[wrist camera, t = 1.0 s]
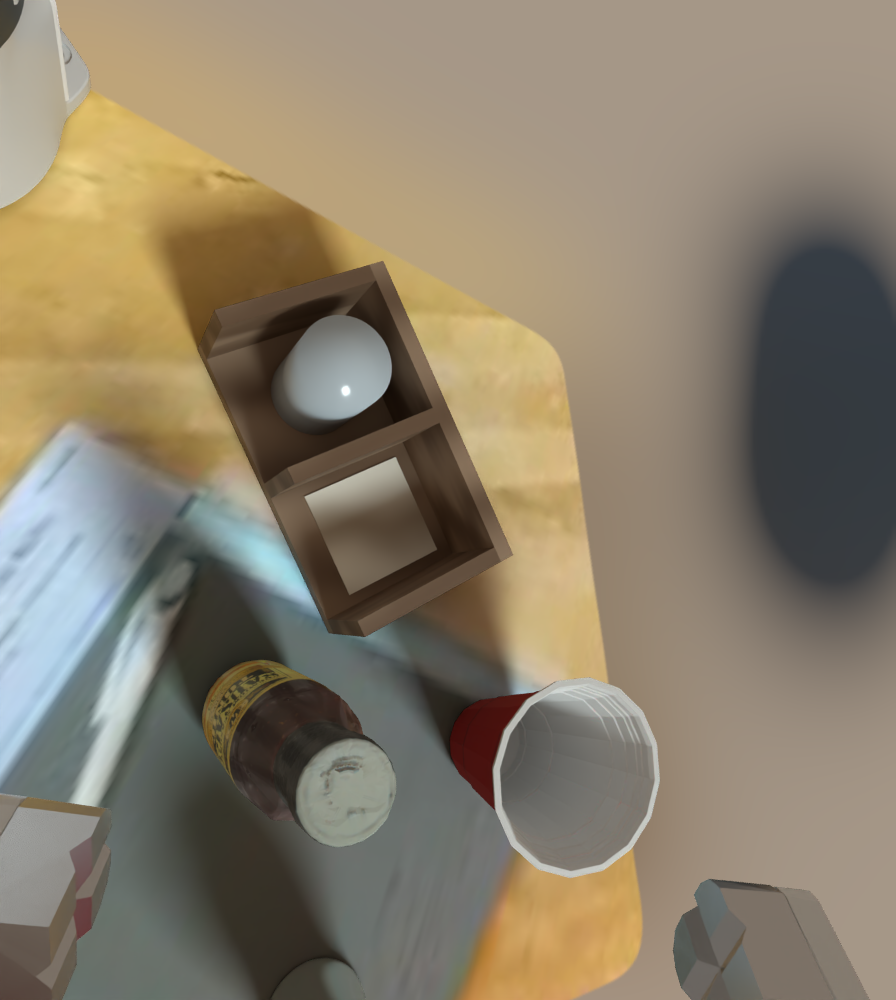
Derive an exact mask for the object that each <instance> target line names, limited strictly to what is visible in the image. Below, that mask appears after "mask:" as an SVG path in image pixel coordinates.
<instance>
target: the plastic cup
mask: <svg viewBox="0 0 896 1000" xmlns="http://www.w3.org/2000/svg"><path fill="white" fill-rule="evenodd" d="M450 751H451V757H452V759H453V762H454V764H455V766H456V768H457V770H458V772H459V774H460V775H461V776H462V777H463V778H464V779H466V780H467V781H468V782H469V783H470V784H471V786H472V788H473V789H474V790H475V791H476V792H477V793H478V794H479V795H480V796H481V797H482V798H483V799H484V800H485V801H486V802H487V803H488V804H489V805H490V806H491V807H492V808H493V809H494V810H495V811H496V812H497V815H498V817H499V819H500V821H501V824H502V826H503V828H504V830H505V833H506V835H507V837H508V839H509V841H510V844H511V846H512V847H513V848H515V849H516V850H517V851H518V852H519V853H520V854H521V855H522V856H524V857H525V858H526V859H527V860H528V861H529V862H530V863H531V864H532V865H534V866H535V867H536V868H537V869H538V870H542V871H546V872H550V873H554V874H557V875H561V876H565V877H569V878H572V877H576V876H581V875H585V874H590V873H594V872H599V871H603V870H604V869H606V868H607V867H608V866H610V865H611V864H612V863H614V862H615V861H616V860H617V859H619V858H620V857H621V856H623V855H624V854H625V853H627V852H628V851H629V850H631V849H632V847H633V845H634V844H635V842H636V841H637V839H638V837H639V836H640V834H641V833H642V831H643V829H644V828H645V826H646V824H647V823H648V821H649V820H650V818H651V815H652V810H653V806H654V802H655V798H656V794H657V790H658V785H659V781H660V779H659V766H658V753H657V743H656V741H655V739H654V736H653V734H652V732H651V729H650V727H649V725H648V723H647V720H646V718H645V716H644V713H643V711H642V710H641V709H640V708H639V707H638V706H637V705H636V704H635V703H634V702H633V701H632V700H631V699H630V698H628V696H627V695H626V694H624V692H623V691H622V690H621V689H620V688H617V687H615V686H612V685H609V684H606V683H604V682H601V681H598V680H595V679H593V678H590V677H589V678H580V679H571V680H562V681H556V682H554V683H552V684H551V685H549V686H547V687H546V688H544V689H542V690H541V691H536V692H534V693H526V694H516V695H509V696H501V697H497V698H491V699H484V700H479V701H478V702H475V703H474V704H472V705H471V706H469V707H467V708H466V709H464V710H463V712H462V713H461V714H460V716H459V717H458V719H457V720H456V721H455V723H454V726H453V730H452V733H451V736H450Z"/></svg>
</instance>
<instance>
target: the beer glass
mask: <svg viewBox="0 0 896 1000" xmlns="http://www.w3.org/2000/svg"><path fill="white" fill-rule="evenodd" d="M271 1000H366V997H365V993H364V990H363V987H362V985H361V982H360V980H359V978H358V977H357V975H356V973H355V972H354V971H353V970H352V969H351V968H350V967H349V966H348V965H347V964H345V963H343V962H341V961H339V960H336V959H333V958H318V959H313V960H310V961H308V962H305V963H303V964H301V965H300V966H298V967H297V968H295V969H294V970H292V971H291V972H290V973H289V974H288V975H287V976H286V977H285V978H284V979H283V980H282V981H281V983H280V984H279V985H278V987H277V988H276V990H275V992H274V994H273V996H272V998H271Z"/></svg>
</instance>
